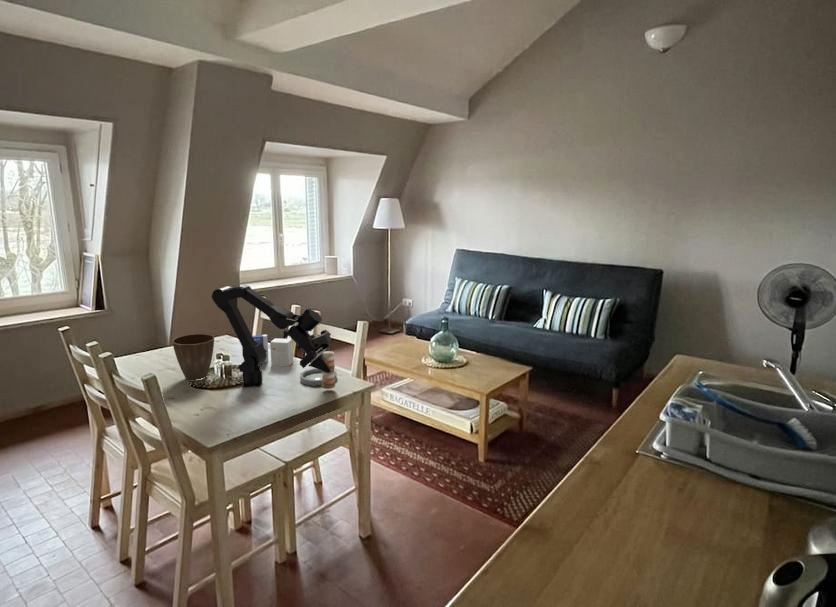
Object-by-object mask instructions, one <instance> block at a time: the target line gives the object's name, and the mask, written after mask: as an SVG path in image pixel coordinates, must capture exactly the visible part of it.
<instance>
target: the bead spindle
mask: <svg viewBox="0 0 836 607" xmlns="http://www.w3.org/2000/svg"><path fill="white" fill-rule="evenodd" d="M322 360H323V361H324V362H325V364H326V365H327V366H328V368H329V369H330V372H329V373H327V372H325V371H322V380H323V382H322V386H321V387H322V388H323V389H326V390H328V389H334V388H335V387H336V381H335V379H334V371H335V367H334V365H335V352H334V351H332V350H331V351H330V350H329V351H325V352H323V353H322Z"/></svg>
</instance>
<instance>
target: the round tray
mask: <svg viewBox="0 0 836 607" xmlns="http://www.w3.org/2000/svg"><path fill="white" fill-rule="evenodd" d="M337 377H338V376H337V371H335V370H334V379H335V380H336V379H337V380H338V378H337ZM299 379H300V383H301V382H302V384H303V383H304V384H303V385H305V384H306V385H305V386H310V385H322V382H323V380H322V370H320V369H317V368H310V369H306V370H304V371H302V372H301V373H300V375H299ZM337 380H336V381H337Z"/></svg>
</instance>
